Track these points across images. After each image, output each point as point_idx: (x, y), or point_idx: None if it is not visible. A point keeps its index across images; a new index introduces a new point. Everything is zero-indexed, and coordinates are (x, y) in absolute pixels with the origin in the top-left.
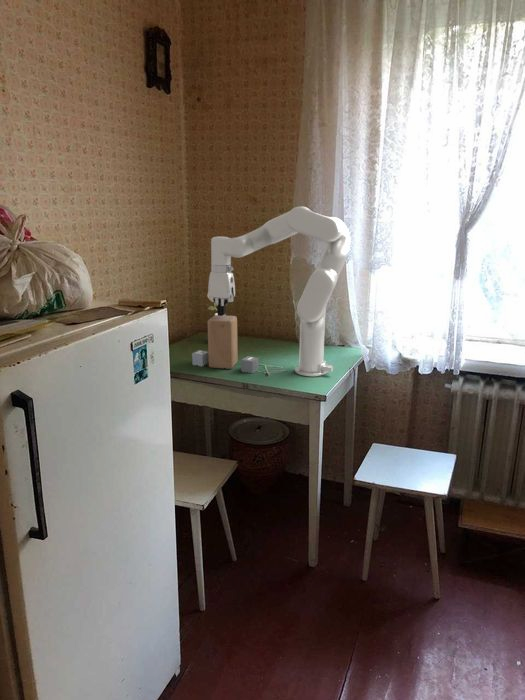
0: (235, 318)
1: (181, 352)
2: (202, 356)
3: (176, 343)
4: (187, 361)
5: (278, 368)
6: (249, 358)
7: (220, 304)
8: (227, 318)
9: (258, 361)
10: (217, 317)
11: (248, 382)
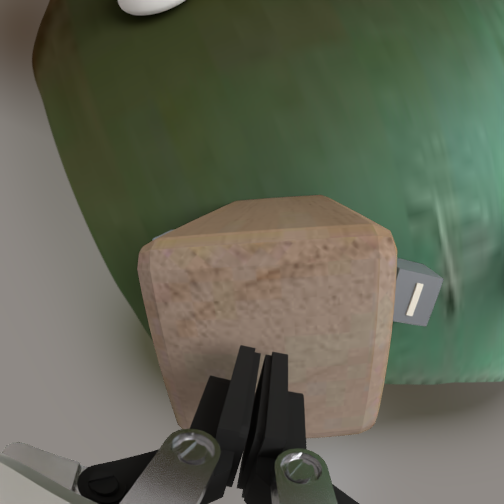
0: (394, 301)
1: (75, 149)
2: None
3: (39, 73)
4: (133, 241)
5: (478, 231)
6: (413, 301)
7: (226, 481)
8: (330, 383)
9: (437, 274)
10: (218, 370)
11: (403, 378)
